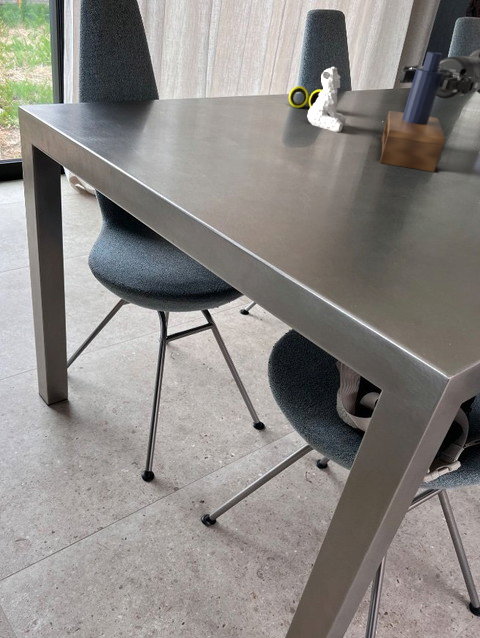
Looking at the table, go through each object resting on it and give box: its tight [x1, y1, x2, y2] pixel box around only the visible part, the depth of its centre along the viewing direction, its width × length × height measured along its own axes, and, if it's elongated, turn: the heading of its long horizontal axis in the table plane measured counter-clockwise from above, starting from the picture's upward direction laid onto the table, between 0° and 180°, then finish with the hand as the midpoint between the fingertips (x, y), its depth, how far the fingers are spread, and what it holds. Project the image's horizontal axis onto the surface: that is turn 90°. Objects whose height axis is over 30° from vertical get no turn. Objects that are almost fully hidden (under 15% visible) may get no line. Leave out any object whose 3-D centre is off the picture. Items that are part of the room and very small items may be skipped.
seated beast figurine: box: [306, 66, 347, 133], centre depth 126 cm, size 10×9×12 cm
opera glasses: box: [288, 85, 323, 109], centre depth 143 cm, size 10×5×5 cm, turn 69°
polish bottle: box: [402, 51, 443, 124], centre depth 109 cm, size 5×5×12 cm
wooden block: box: [379, 110, 446, 173], centre depth 113 cm, size 10×20×6 cm, turn 164°
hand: (423, 80), depth 107 cm, fingers open, 8 cm apart
